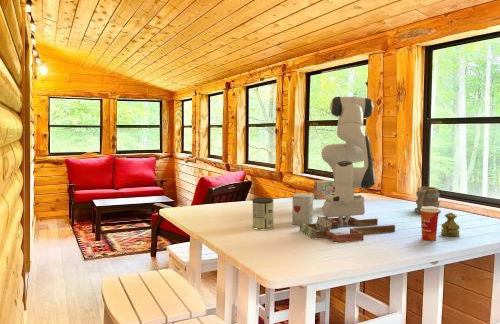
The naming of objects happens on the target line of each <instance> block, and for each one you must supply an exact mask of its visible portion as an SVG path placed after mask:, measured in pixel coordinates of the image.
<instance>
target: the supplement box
mask: <svg viewBox="0 0 500 324" xmlns="http://www.w3.org/2000/svg"><path fill="white" fill-rule="evenodd" d="M291 211H292V213H291V214H292V219H291V221H292V223H291V224H292V225H295V226H300V223H304V224H313V222H314V221H313V220H314V219H313V218H314V217H313V216H314V193H306V192H305V193H302V192H296V193H294V194H293V195H292V210H291Z"/></svg>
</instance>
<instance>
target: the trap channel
mask: <svg viewBox="0 0 500 324" xmlns="http://www.w3.org/2000/svg"><path fill="white" fill-rule="evenodd" d="M329 219H330V221H331V222H332V223H334V224H332V227H331V229H330V231H319V230H318V229H317V227H316V226H314V225H316V222H315V223H311V224H304V223H300V225H299V232H301V233H302V232H303V233H302V234H304V233H305V234H304V235H306V234H307V235H308V237H309V236H310V237H309V238H311V237H312V238H313V240H316V239H315V238H321V239H328V240H329V239H330V241H331V240H332V242H333V241H334V242H333V243H335V242H339V243H347V242H346V241H349V242H357V241H359V240H360V241H364V235H372V234H373V235H374V234H383V233H384V234H385V233H392V232H393V233H395V231H396V225H395V224H387V225H379V224H378V218H366V219H365V218H364V219H357V218H355V217H353V216H350V219H349V221H348V225H344V226H341V225H340V220H339V219H338V217H329ZM345 219H346V217H345V216H343V219H342V220H343V221H345ZM350 227H353V228H350ZM338 228H349V233H344V234H336V233H334V232H332V231H331V230H333V229H338ZM307 235H306V236H307ZM312 238H311V239H312Z"/></svg>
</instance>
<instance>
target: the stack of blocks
mask: <svg viewBox="0 0 500 324" xmlns="http://www.w3.org/2000/svg"><path fill="white" fill-rule="evenodd" d="M313 184H314V185H313V199H315V200H316V201H318V200H325V196H326V195H328V194H331V193H333V192H332V191H333V189H332V187H334V180H332V179H331V180H327V179H325V180H323V179H322V180H314V181H313Z"/></svg>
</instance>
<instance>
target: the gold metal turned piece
mask: <svg viewBox="0 0 500 324" xmlns="http://www.w3.org/2000/svg"><path fill="white" fill-rule="evenodd" d="M444 217H445V218H446V219H447V220H446V221H445V222H443V223H442V224H441V230H440V231H441V235H442V236H445V237H449V238H450V237H451V238H454V237H455V238H456V236H457V237H459V236H460V228H461V227H460V225H459V224H458V223H457V222H456V221H455V219H456V218H458V216H457V215H456V214H454V213H453V212H447V213H446V214H444Z"/></svg>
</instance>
